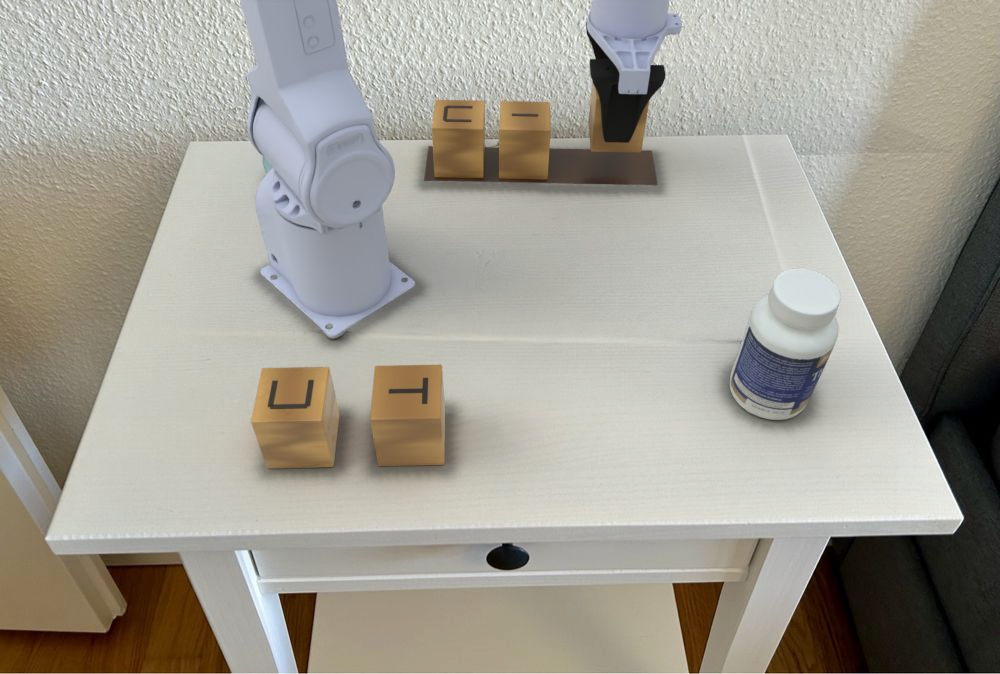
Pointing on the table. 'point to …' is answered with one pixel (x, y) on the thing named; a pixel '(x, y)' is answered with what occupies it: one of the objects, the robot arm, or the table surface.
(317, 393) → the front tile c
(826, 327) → the pill bottle
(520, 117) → the board tile
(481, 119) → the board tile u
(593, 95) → the wooden letter cube
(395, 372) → the tile
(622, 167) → the word board
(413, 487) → the table surface
